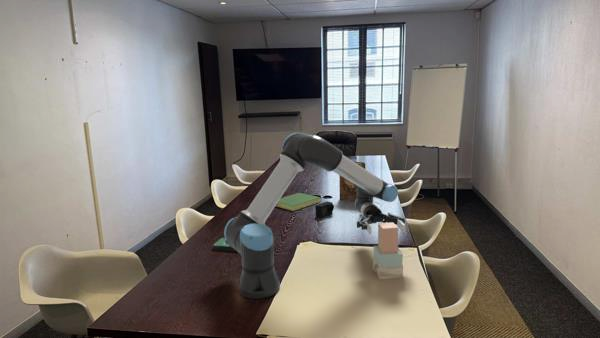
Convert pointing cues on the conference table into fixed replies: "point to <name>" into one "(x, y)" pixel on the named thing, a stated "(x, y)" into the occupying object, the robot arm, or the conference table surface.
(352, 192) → the book
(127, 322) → the conference table surface
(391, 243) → the tall block
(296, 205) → the hardcover book
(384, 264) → the tower upper block
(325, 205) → the digital camera
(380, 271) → the tower base block
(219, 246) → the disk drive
